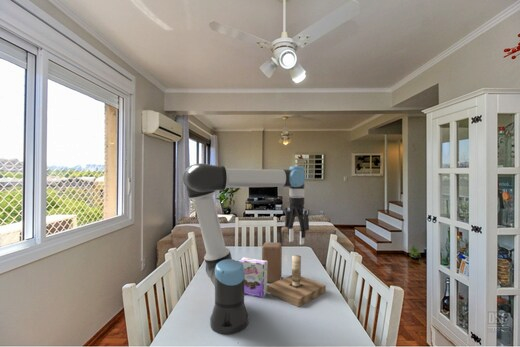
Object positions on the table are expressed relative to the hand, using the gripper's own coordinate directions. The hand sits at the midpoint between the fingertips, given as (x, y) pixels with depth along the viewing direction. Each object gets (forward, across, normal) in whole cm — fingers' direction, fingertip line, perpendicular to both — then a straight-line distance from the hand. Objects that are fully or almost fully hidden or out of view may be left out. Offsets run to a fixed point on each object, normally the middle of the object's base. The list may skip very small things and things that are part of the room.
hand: (296, 242), depth 131 cm
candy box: (+25, +14, +17) cm, 33 cm away
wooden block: (+25, +19, -2) cm, 32 cm away
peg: (+25, 0, 0) cm, 25 cm away
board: (+25, 0, 0) cm, 25 cm away
